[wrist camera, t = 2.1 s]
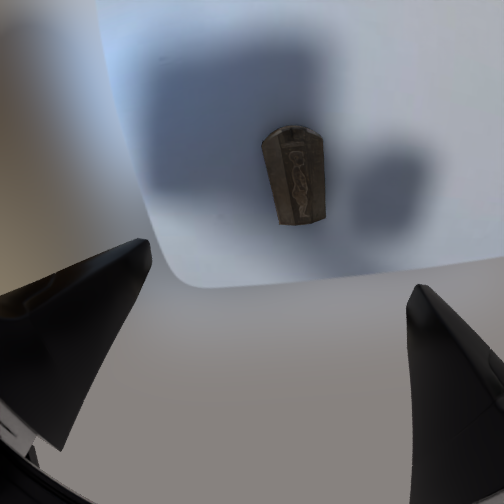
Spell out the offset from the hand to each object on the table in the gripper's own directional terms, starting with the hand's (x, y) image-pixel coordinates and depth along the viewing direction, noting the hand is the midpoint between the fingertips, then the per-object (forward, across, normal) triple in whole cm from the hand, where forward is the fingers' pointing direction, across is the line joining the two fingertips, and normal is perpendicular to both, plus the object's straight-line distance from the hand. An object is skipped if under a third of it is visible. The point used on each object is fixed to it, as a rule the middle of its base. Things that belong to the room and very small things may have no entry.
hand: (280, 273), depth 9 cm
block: (+11, 0, 0) cm, 11 cm away
